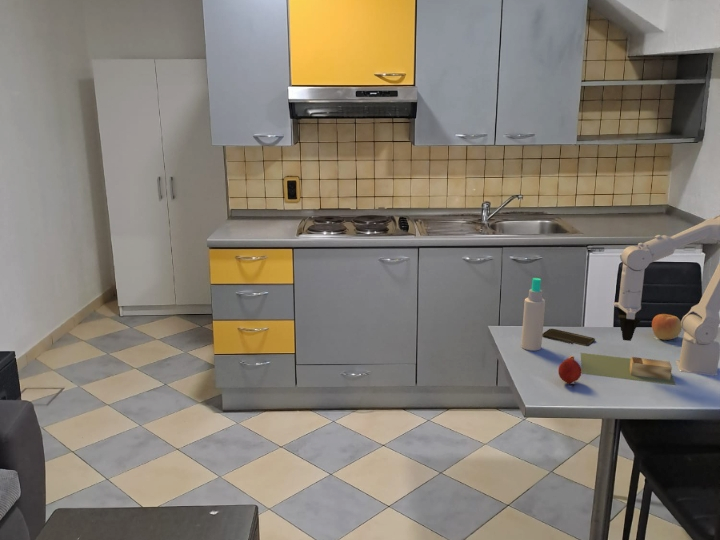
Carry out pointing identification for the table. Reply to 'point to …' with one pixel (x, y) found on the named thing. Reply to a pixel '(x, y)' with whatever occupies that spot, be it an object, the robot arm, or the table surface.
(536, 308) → the spray bottle
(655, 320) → the apple
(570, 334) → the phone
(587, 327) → the table surface
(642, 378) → the rubber mat
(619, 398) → the table surface
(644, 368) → the wooden cubby box
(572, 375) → the onion
